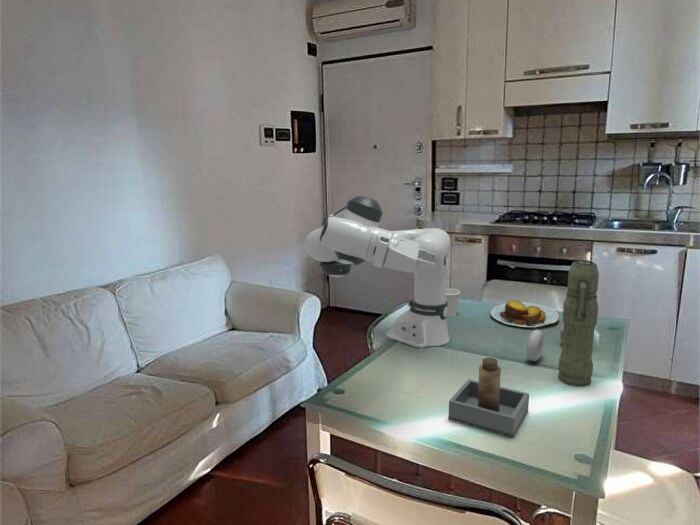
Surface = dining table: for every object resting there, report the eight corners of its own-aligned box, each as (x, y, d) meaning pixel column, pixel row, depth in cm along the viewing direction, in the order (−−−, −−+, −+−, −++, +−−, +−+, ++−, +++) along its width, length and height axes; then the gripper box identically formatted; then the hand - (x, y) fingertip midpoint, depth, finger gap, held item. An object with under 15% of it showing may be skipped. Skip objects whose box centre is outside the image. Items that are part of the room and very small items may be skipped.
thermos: (588, 372, 148) (598, 258, 140) (594, 390, 137) (606, 267, 129) (556, 369, 150) (564, 256, 143) (559, 386, 139) (569, 266, 132)
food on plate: (572, 322, 190) (573, 306, 189) (527, 335, 178) (528, 318, 177) (520, 305, 212) (520, 290, 210) (477, 316, 200) (477, 300, 198)
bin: (448, 419, 124) (448, 401, 123) (467, 395, 135) (468, 379, 134) (513, 437, 115) (514, 418, 114) (528, 411, 127) (529, 393, 126)
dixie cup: (440, 310, 207) (441, 287, 204) (461, 312, 203) (461, 289, 201) (436, 317, 199) (436, 293, 197) (457, 319, 196) (457, 295, 194)
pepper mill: (475, 414, 125) (476, 362, 122) (481, 405, 129) (483, 354, 126) (495, 419, 122) (497, 366, 119) (501, 410, 126) (503, 358, 123)
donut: (535, 367, 152) (537, 336, 150) (524, 364, 154) (526, 334, 152) (544, 356, 160) (546, 326, 158) (533, 353, 162) (535, 324, 160)
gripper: (383, 250, 135) (432, 264, 134) (373, 268, 116) (430, 285, 114) (389, 228, 134) (439, 242, 132) (380, 243, 114) (438, 260, 113)
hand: (435, 262), depth 123 cm, fingers open, 8 cm apart
